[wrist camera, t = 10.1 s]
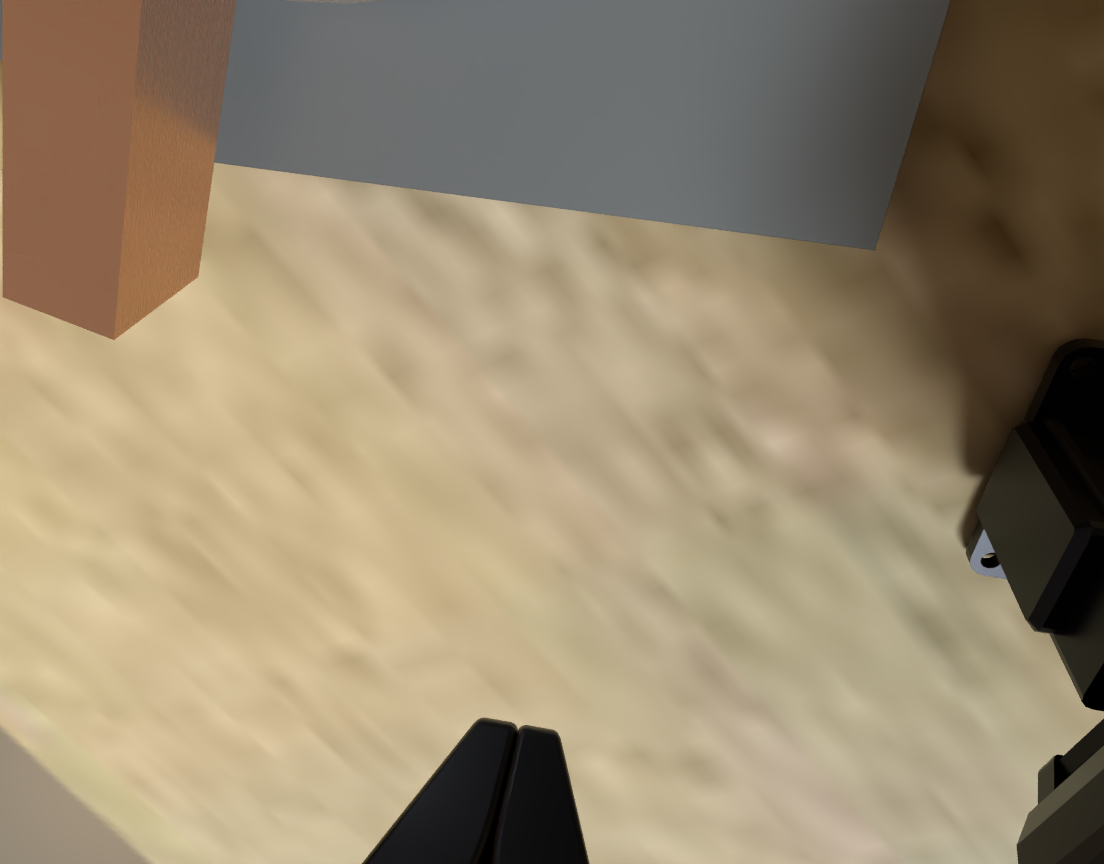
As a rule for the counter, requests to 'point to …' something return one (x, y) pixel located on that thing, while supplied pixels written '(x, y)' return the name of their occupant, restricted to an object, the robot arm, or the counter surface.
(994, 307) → the counter surface
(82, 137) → the grey disc with handle
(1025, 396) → the counter surface
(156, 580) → the counter surface
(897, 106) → the post plate
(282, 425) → the counter surface
